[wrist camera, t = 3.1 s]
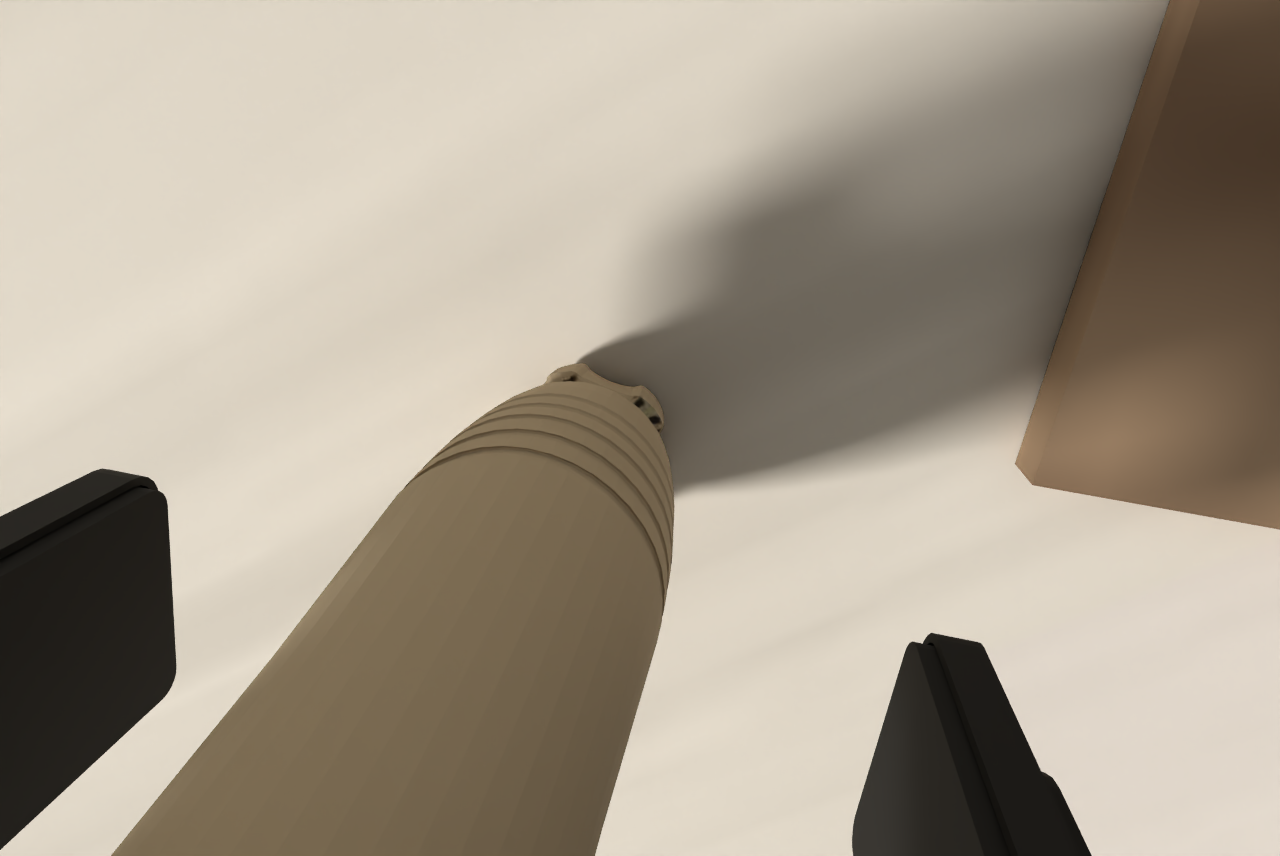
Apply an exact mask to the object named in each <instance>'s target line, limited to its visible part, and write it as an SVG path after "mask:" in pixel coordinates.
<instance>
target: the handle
mask: <svg viewBox="0 0 1280 856" xmlns="http://www.w3.org/2000/svg"><path fill="white" fill-rule="evenodd" d="M663 426H664V415H663V411H662V408H661V406H660V403H659V402H658V400H657V399H656V397H655V396H654V395H653V394H652V393H651V392H650V391H649V390H648V389H647V388H645V387H644V386H642V385H638V386H635V387H631V386H624V385H620V384H617V383H614V382H611V381H609V380H607V379H605V378H603V377H601V376H599V375H597V374H596V373H594V372H593V371H592V370H590V368H589V367H588V366H587V365H586V364H584V363H581V364H572V365H568V366H564V367H561V368H558V369H557V370H555V371H554V372H553V373H551V374H550V375H549V376H548V377H547V381H546V383H544V384H543V385H542V386H539V387H536V388H533V389H531V390H528V391H526V392H523V393H521V394H519V395H516V396H514V397H512V398H510V399H509V400H507V401H505V402H504V403H502V404H500V405H498V406H497V407H495V408H494V409H492V410H491V411H489V412H488V413H486V414H485V415H483V416H482V417H480V418H479V419H478V420H476V421H475V422H474V423H472V424H471V425H470V426H469V427H468V428H466V429H464V430H463V431H462V432H461V433H459V434H458V435H457V436H456V437H455V438H453V439H452V440H451V441H450V442H449V443H448V444H447V445H446V446H445V447H444V448H443V449H442V450H441V451H439V452H438V453H437V454H436V455H435V456H434V457H433V458H432V459H431V460H430V461H429V462H428V463H427V464H426V465H425V466H424V467H423V469H422V470H421V471H420V472H418V473H417V474H416V476H415V477H414V478H413V479H412V480H411V481H410V482H409V483H408V484H407V485H406V486H405V488H404V489H403V490H402V491H401V492H400V493H399V494H398V495H397V496H396V497H395V499H394V500H393V501H392V503H391V504H390V505H389V507H388V508H387V509H386V510H385V512H384V513H383V514H382V516H381V517H380V518H379V520H378V521H377V522H376V523H375V525H374V526H373V527H372V529H371V530H370V531H369V533H368V534H367V535H366V536H365V538H364V539H363V540H362V542H361V543H360V544H359V546H358V547H357V548H356V549H355V551H354V552H353V553H352V555H351V556H350V557H349V559H348V560H347V561H346V562H345V564H344V565H343V566H342V568H341V569H340V570H339V571H338V573H337V574H336V575H335V577H334V578H333V579H332V581H331V582H330V583H329V584H328V586H327V587H326V588H325V590H324V591H323V592H322V594H321V595H320V596H319V597H318V599H317V600H316V601H315V603H314V604H313V605H312V607H311V608H310V609H309V610H308V612H307V613H306V614H305V616H304V617H303V618H302V620H301V621H300V622H299V623H298V625H297V626H296V627H295V629H294V630H293V631H292V633H291V634H290V635H289V636H288V638H287V639H286V640H285V642H284V643H283V644H282V646H281V647H280V648H279V649H278V651H277V652H276V653H275V655H274V656H273V657H272V658H271V660H270V661H269V662H268V663H267V664H266V666H265V667H264V668H263V669H262V671H261V672H260V673H259V674H258V676H257V677H256V678H255V679H254V680H253V682H252V683H251V684H250V685H249V687H248V688H247V689H246V690H245V692H244V693H243V694H242V695H241V696H240V698H239V699H238V700H237V701H236V703H235V704H234V705H233V706H232V708H231V709H230V710H229V711H228V712H227V714H226V715H225V716H224V717H223V719H222V720H221V721H220V722H219V724H218V725H217V726H216V727H215V728H214V730H213V731H212V732H211V733H210V735H209V736H208V737H207V738H206V740H205V741H204V742H203V743H202V744H201V746H200V747H199V748H198V749H197V751H196V752H195V753H194V754H193V756H192V757H191V758H190V759H189V760H188V762H187V763H186V764H185V765H184V767H183V768H182V769H181V770H180V772H179V773H178V774H177V775H176V776H175V778H174V779H173V780H172V781H171V783H170V784H169V785H168V786H167V788H166V789H165V790H164V791H163V792H162V794H161V795H160V796H159V797H158V799H157V800H156V801H155V802H154V804H153V805H152V806H151V807H150V808H149V810H148V811H147V812H146V813H145V815H144V816H143V817H142V818H141V820H140V821H139V822H138V823H137V824H136V826H135V827H134V828H133V829H132V831H131V832H130V833H129V834H128V836H127V837H126V838H125V839H124V840H123V842H122V843H121V844H120V845H119V847H118V848H117V849H116V850H115V851H114V853H113V854H112V855H111V856H595V853H596V849H597V846H598V842H599V838H600V834H601V831H602V827H603V824H604V821H605V817H606V814H607V810H608V807H609V803H610V800H611V797H612V793H613V790H614V786H615V783H616V780H617V776H618V773H619V769H620V766H621V763H622V759H623V756H624V752H625V749H626V746H627V742H628V739H629V735H630V732H631V728H632V725H633V722H634V718H635V715H636V711H637V708H638V705H639V701H640V698H641V694H642V691H643V688H644V684H645V681H646V677H647V674H648V671H649V667H650V664H651V660H652V657H653V653H654V650H655V647H656V643H657V640H658V635H659V631H660V627H661V622H662V616H663V611H664V606H665V600H666V595H667V588H668V583H669V577H670V571H671V563H672V547H673V525H674V492H673V482H672V474H671V468H670V463H669V458H668V455H667V452H666V449H665V446H664V444H663V441H662V439H661V437H660V433H661V431H662V429H663Z"/></svg>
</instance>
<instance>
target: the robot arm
mask: <svg viewBox="0 0 1280 856" xmlns="http://www.w3.org/2000/svg"><path fill="white" fill-rule="evenodd" d="M175 675H176V651H175V633H174V615H173V596H172V578H171V560H170V542H169V523H168V505H167V500H166V498H165V496H164V494H163V493H161V492H160V491H158V488H157V486H156V484H155V483H154V481H153V480H151V479H150V478H148V477H144V476H139V475H134V474H129V473H124V472H119V471H114V470H108V469H99V470H96V471H93V472H91V473H89V474H87V475H85V476H83V477H81V478H79V479H77V480H75V481H72V482H70V483H68V484H66V485H64V486H62V487H60V488H58V489H56V490H54V491H52V492H50V493H48V494H46V495H44V496H42V497H40V498H38V499H35V500H33V501H31V502H29V503H27V504H25V505H23V506H21V507H19V508H17V509H15V510H13V511H11V512H9V513H7V514H5V515H3V516H1V517H0V850H1V849H2V848H3V847H4V846H5V845H6V844H7V843H8V842H9V841H10V840H11V839H12V838H14V837H15V836H16V835H17V834H18V833H19V832H20V831H21V830H22V829H23V828H24V827H25V826H26V825H28V824H29V823H30V822H31V821H32V820H33V819H34V818H35V817H36V816H37V815H38V814H39V813H40V812H42V811H43V810H44V809H45V808H46V807H47V806H48V805H49V804H50V803H51V802H52V801H53V800H54V799H56V798H57V797H58V796H59V795H60V794H61V793H62V792H63V791H64V790H65V789H66V788H67V787H68V786H70V785H71V784H72V783H73V782H74V781H75V780H76V779H77V778H78V777H79V776H80V775H81V774H82V773H84V772H85V771H86V770H87V769H88V768H89V767H90V766H91V765H92V764H93V763H94V762H95V761H96V760H98V759H99V758H100V757H101V756H102V755H103V754H104V753H105V752H106V751H107V750H108V749H109V748H110V747H112V746H113V745H114V744H115V743H116V742H117V741H118V740H119V739H120V738H121V737H122V736H123V735H125V734H126V733H127V732H128V731H129V730H130V729H131V728H132V727H133V726H134V725H135V724H136V723H137V722H139V721H140V720H141V719H142V718H143V717H144V716H145V715H146V714H147V713H148V712H149V711H150V710H151V709H153V708H154V707H155V706H156V705H157V704H158V703H159V702H160V701H161V700H162V699H163V698H164V697H165V696H166V695H167V693H168V691H169V690H170V688H171V686H172V684H173V682H174V679H175ZM852 848H853V856H1091V853H1090V851H1089V849H1088V847H1087V845H1086V843H1085V841H1084V839H1083V837H1082V835H1081V832H1080V830H1079V828H1078V826H1077V824H1076V822H1075V820H1074V818H1073V816H1072V814H1071V811H1070V809H1069V807H1068V805H1067V803H1066V801H1065V799H1064V797H1063V795H1062V792H1061V790H1060V788H1059V787H1058V785H1057V784H1056V782H1055V781H1054V779H1053V778H1052V777H1051V776H1049V775H1048V774H1046V773H1044V772H1041V770H1040V768H1039V766H1038V764H1037V762H1036V759H1035V757H1034V755H1033V753H1032V751H1031V748H1030V746H1029V744H1028V742H1027V740H1026V738H1025V735H1024V733H1023V731H1022V729H1021V727H1020V725H1019V722H1018V720H1017V718H1016V716H1015V714H1014V711H1013V709H1012V707H1011V705H1010V703H1009V701H1008V698H1007V696H1006V694H1005V692H1004V690H1003V688H1002V685H1001V683H1000V681H999V679H998V677H997V674H996V672H995V670H994V668H993V666H992V664H991V661H990V659H989V657H988V655H987V653H986V650H985V648H984V647H983V645H982V644H981V643H978V642H974V641H969V640H964V639H959V638H954V637H949V636H944V635H939V634H934V633H930V634H929V635H927V637H926V639H925V640H924V642H923V644H921V643H916V642H911V643H909V645H908V646H907V648H906V651H905V654H904V657H903V660H902V664H901V667H900V670H899V674H898V677H897V680H896V683H895V687H894V690H893V693H892V697H891V700H890V703H889V706H888V710H887V713H886V716H885V720H884V723H883V726H882V729H881V733H880V736H879V739H878V743H877V746H876V749H875V752H874V756H873V759H872V762H871V766H870V769H869V772H868V776H867V779H866V782H865V785H864V789H863V792H862V795H861V799H860V802H859V805H858V808H857V812H856V815H855V819H854V825H853V835H852Z"/></svg>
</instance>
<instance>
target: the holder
mask: <svg viewBox="0 0 1280 856" xmlns="http://www.w3.org/2000/svg"><path fill="white" fill-rule="evenodd" d="M1015 464H1016V465H1017V467H1018V468H1019V469H1020V470H1021V472H1022V473H1023V474H1024V475H1025V476H1026V478H1027V479H1028V480H1029V481H1030V483H1031V484H1032V485H1035V486H1041V487H1046V488H1052V489H1058V490H1063V491H1069V492H1074V493H1080V494H1085V495H1091V496H1097V497H1102V498H1108V499H1113V500H1119V501H1124V502H1130V503H1136V504H1141V505H1147V506H1152V507H1158V508H1163V509H1169V510H1175V511H1180V512H1186V513H1191V514H1197V515H1202V516H1208V517H1214V518H1219V519H1225V520H1230V521H1236V522H1241V523H1247V524H1253V525H1258V526H1264V527H1269V528H1275V529H1280V0H1170V2H1169V5H1168V8H1167V11H1166V14H1165V17H1164V20H1163V23H1162V26H1161V29H1160V32H1159V35H1158V38H1157V41H1156V44H1155V47H1154V50H1153V53H1152V56H1151V59H1150V62H1149V65H1148V68H1147V71H1146V74H1145V77H1144V80H1143V83H1142V86H1141V89H1140V92H1139V95H1138V98H1137V101H1136V104H1135V107H1134V110H1133V113H1132V116H1131V119H1130V122H1129V125H1128V128H1127V131H1126V134H1125V137H1124V140H1123V143H1122V146H1121V149H1120V152H1119V155H1118V158H1117V161H1116V164H1115V167H1114V170H1113V173H1112V176H1111V179H1110V182H1109V185H1108V188H1107V191H1106V194H1105V197H1104V200H1103V203H1102V206H1101V209H1100V212H1099V215H1098V218H1097V221H1096V224H1095V226H1094V229H1093V232H1092V235H1091V238H1090V241H1089V244H1088V247H1087V250H1086V253H1085V256H1084V259H1083V262H1082V265H1081V268H1080V271H1079V274H1078V277H1077V280H1076V283H1075V286H1074V289H1073V292H1072V295H1071V298H1070V301H1069V304H1068V307H1067V310H1066V313H1065V316H1064V319H1063V322H1062V325H1061V328H1060V331H1059V334H1058V337H1057V340H1056V343H1055V346H1054V349H1053V352H1052V355H1051V358H1050V361H1049V364H1048V367H1047V370H1046V373H1045V376H1044V379H1043V382H1042V385H1041V388H1040V391H1039V394H1038V397H1037V400H1036V403H1035V406H1034V409H1033V412H1032V415H1031V418H1030V421H1029V424H1028V427H1027V430H1026V433H1025V436H1024V439H1023V442H1022V445H1021V448H1020V451H1019V454H1018V457H1017V460H1016V463H1015Z"/></svg>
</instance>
